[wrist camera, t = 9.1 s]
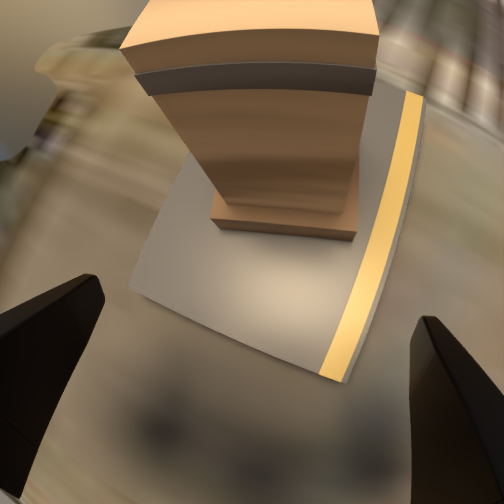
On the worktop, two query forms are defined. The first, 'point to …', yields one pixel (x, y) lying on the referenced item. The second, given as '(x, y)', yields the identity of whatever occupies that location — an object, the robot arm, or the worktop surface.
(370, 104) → the plate
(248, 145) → the tan piece
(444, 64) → the worktop surface
